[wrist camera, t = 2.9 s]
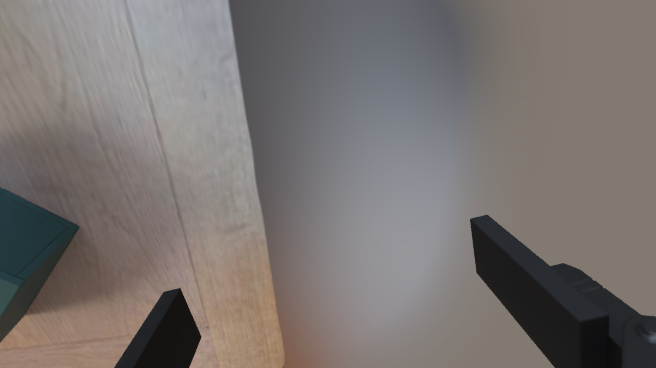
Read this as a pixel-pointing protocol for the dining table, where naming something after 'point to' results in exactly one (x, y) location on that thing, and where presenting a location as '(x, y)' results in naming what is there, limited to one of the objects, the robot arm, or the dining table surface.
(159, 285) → the dining table surface
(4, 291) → the lid
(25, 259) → the chest
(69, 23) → the dining table surface
